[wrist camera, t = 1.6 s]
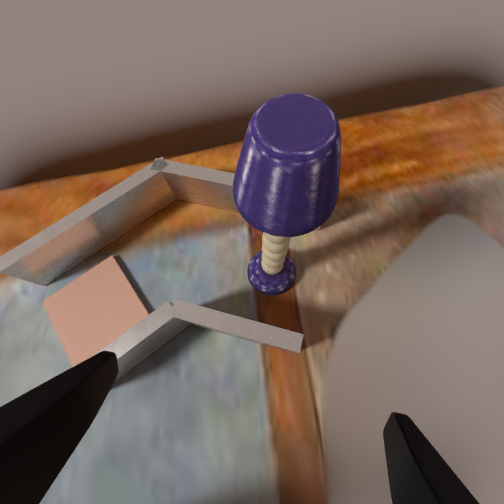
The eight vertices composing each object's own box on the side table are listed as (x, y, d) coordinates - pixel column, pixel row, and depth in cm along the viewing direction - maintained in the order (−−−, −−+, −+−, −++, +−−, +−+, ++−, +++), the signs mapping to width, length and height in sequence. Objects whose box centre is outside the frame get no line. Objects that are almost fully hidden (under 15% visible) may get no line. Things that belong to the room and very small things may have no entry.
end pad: (77, 369, 22) (74, 370, 22) (45, 302, 24) (41, 301, 24) (151, 315, 23) (149, 315, 23) (114, 256, 26) (111, 255, 25)
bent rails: (360, 339, 22) (383, 335, 18) (27, 410, 21) (-32, 423, 17) (302, 161, 28) (308, 128, 24) (45, 212, 28) (5, 187, 23)
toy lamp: (282, 238, 25) (305, 51, 10) (313, 278, 24) (399, 133, 8) (238, 266, 25) (188, 112, 9) (267, 309, 23) (268, 214, 7)
